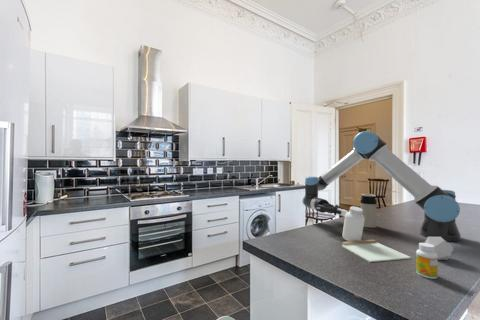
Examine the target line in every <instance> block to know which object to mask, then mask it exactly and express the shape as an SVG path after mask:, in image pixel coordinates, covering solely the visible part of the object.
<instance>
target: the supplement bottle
mask: <svg viewBox="0 0 480 320" xmlns="http://www.w3.org/2000/svg"><path fill="white" fill-rule="evenodd" d="M434 251H435V246H434V245H432V244H428V243H425V242H418V249H416V251H415V256H416V257H415V259H416V260H415V262H416V263H415V264H416V267H415V269H416V271H415V272H416V274H417V275H419V276H421V277H423V278H427V279H432V280H433V279H438V277H439V273H438V271H439V269H438V268H439V267H438V266H439V262H438V261H439V260H438V256H437V254H436V253H435V252H434Z"/></svg>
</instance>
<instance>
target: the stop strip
mask: <svg viewBox="0 0 480 320" xmlns="http://www.w3.org/2000/svg"><path fill="white" fill-rule="evenodd" d="M366 243H377V242H376V240H375V239H367V240H363V239H361V241H347V240H346V241H341V246H342V245H352V244H366Z"/></svg>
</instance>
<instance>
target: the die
mask: <svg viewBox="0 0 480 320" xmlns="http://www.w3.org/2000/svg"><path fill="white" fill-rule="evenodd" d="M424 243H428V244H432V245H434V246H435V251H434V252H435V253H436V254H437V256H438V261H447V260H448V261H449V259H450V257H451V255H452V253H453V251H454V250H455V248H454V246H452V245H451V244H450V243H449V241H445V240H444V239H443V238H442V237H426V239H425V241H424Z"/></svg>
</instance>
